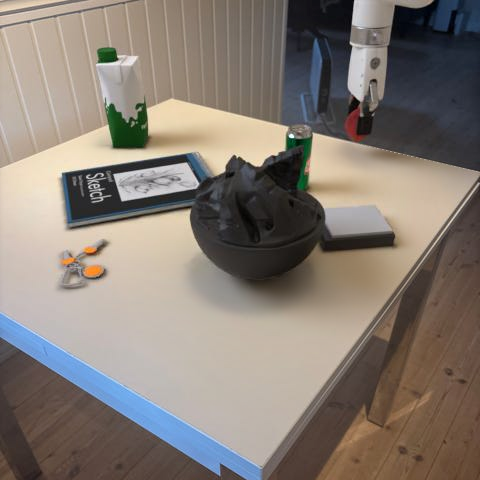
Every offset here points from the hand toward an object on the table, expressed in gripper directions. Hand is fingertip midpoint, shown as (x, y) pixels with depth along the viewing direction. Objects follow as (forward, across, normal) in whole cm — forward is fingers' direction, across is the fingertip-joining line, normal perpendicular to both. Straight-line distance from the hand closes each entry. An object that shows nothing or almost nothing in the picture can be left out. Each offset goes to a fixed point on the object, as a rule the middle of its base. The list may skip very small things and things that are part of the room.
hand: (358, 128), depth 106 cm
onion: (+3, 0, 0) cm, 3 cm away
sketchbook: (+5, -10, +48) cm, 49 cm away
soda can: (+6, -14, +17) cm, 22 cm away
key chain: (+5, -35, +57) cm, 67 cm away
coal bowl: (+6, -40, +29) cm, 49 cm away
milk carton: (+5, +15, +51) cm, 53 cm away
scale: (+6, -32, +11) cm, 34 cm away
